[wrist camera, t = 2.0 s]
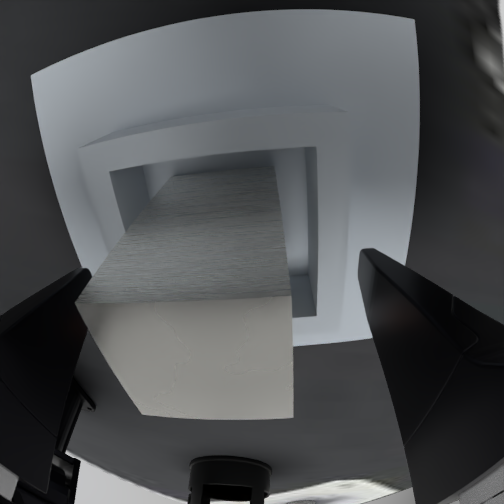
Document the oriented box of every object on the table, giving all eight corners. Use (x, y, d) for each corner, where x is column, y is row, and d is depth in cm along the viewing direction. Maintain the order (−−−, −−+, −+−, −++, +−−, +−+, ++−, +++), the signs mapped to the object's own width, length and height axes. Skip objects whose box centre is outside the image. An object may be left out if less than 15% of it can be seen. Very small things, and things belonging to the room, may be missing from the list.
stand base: (386, 329, 17) (406, 385, 13) (122, 342, 18) (102, 394, 14) (409, 21, 8) (464, 6, 5) (37, 74, 10) (-26, 85, 6)
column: (281, 269, 14) (293, 427, 7) (192, 274, 14) (149, 424, 8) (274, 165, 11) (291, 295, 5) (170, 176, 12) (74, 303, 5)
